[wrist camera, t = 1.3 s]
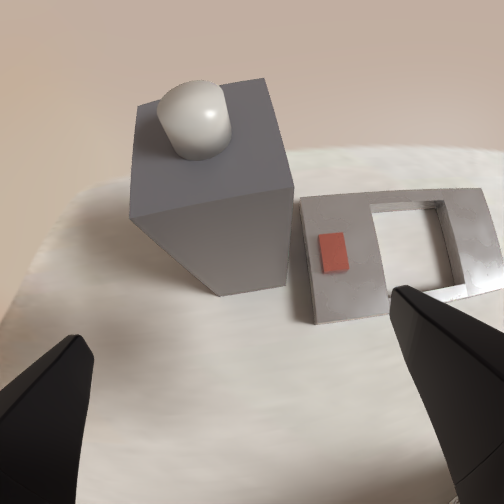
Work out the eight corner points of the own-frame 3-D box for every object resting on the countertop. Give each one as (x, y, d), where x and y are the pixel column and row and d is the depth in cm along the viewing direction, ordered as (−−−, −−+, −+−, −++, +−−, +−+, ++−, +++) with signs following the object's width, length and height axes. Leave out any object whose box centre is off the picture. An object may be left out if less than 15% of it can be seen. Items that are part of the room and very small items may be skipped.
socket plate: (473, 196, 21) (484, 184, 19) (497, 290, 18) (512, 284, 16) (299, 207, 22) (300, 193, 20) (314, 325, 19) (318, 322, 17)
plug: (285, 285, 20) (296, 152, 6) (219, 296, 20) (102, 193, 6) (274, 223, 21) (261, 44, 8) (211, 234, 21) (121, 77, 8)
